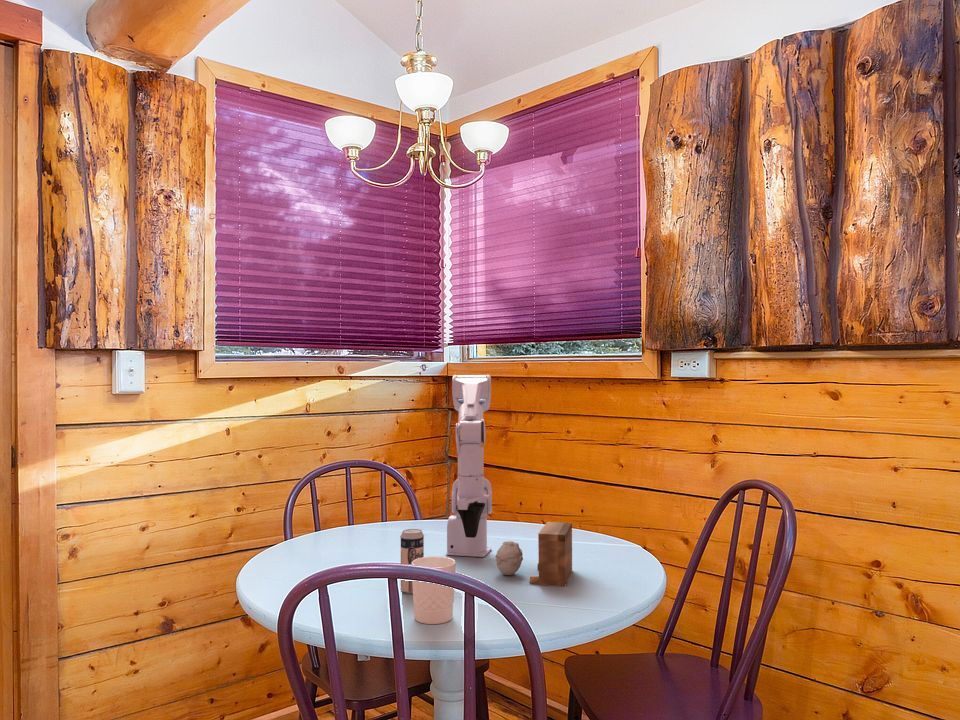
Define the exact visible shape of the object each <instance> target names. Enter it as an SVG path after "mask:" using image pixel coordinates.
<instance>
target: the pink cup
mask: <svg viewBox="0 0 960 720" xmlns="http://www.w3.org/2000/svg"><path fill="white" fill-rule="evenodd" d="M456 564H457V563H456V560H455V559H454V558H451V557H447V556H437V555H436V556H434V555H433V556H432V555H431V556H424V557H422V558H418V559H415V560H413V561H412V565H419V566H426V567H432V568H437V569H442V570H446V571H451V572H455V573H456ZM412 587H413V594H412V595H413V596H412V597H413V598H412V601H413V608H414V609H413V610H414V619H415V620H416V622H418V623H421V624H426V625H440V624H446V623H447V622H449V621H452V619H453V617H454V614H453V613H454V603H455V601H454V600H455V589H453V588H450V587H446V586H442V585H438V584H433V583H427V582H419V581H412Z"/></svg>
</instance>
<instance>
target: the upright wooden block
mask: <svg viewBox="0 0 960 720" xmlns="http://www.w3.org/2000/svg"><path fill="white" fill-rule="evenodd" d="M537 549H538V562H537V564H536V565H537V571H538V575H529V584H533V585H534V584H535V585H539V586H551V587H552V586H553V587H566V586H567V584H568V582H569V579H570V577H571V574H572V572H573V523H572V522H563V521H562V522H559V521H546V523H545V524H544V526H542V528H541V529H540V531H539V532H538V548H537Z"/></svg>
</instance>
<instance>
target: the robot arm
mask: <svg viewBox="0 0 960 720" xmlns="http://www.w3.org/2000/svg"><path fill="white" fill-rule="evenodd" d="M451 381H452V382H451V383H452V384H451V385H452V386H451V387H452V388H451V389H452V390H451V391H452V393H451V394H452V402H453V403H452V404H453V406H454V407H453V408H454V410H456V411H457V412H458V420H457V421H458V422H456V423H455V443H456V454H457V478H456V480H455V481H453V484H452V488H451V489H452V490H451V513H453V514H452V515H449V517H448V519H447V522H446V523H447V525H446V555H447V556H459V557H462V556H463V557H476V558H477V557H479V558H484V557H486V556H487V555H488V554H489V553H490V551H491V550H492V547H490V546H488V529H487V528H488V523H487V522H488V515H491V514H492V512H493V492H492V491H493V490H492V484H491V481H489V480H488V479H487V478H486V477H484V472H485V471H484V470H485V469H484V462H485V461H484V457H485V455H484V453H485V452H484V451H485V448H484V447H485V445H486V423H485V419H484V413H485V412H487V411H489V410H490V406H491V397H492V377H491V375H490V374H476V375H475V374H470V375H469V374H463V375H461V374H458V375H457V374H453V376H452V380H451ZM482 444H483V445H482Z"/></svg>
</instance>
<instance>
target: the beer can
mask: <svg viewBox="0 0 960 720" xmlns="http://www.w3.org/2000/svg"><path fill="white" fill-rule="evenodd" d="M424 538H425V535H424V533H423V530H422V529H418V528H410V529H409V528H408V529H403V530H402V532H401V534H400V565H401V564H412V561H413V560H415V559H418V558H422V557H425V556H424V555H425V554H424V553H425V552H424V551H425V550H424V548H425V547H424V546H425V545H424V544H425V543H424V542H425V541H424V540H425V539H424ZM399 589H400V591H401V592H403V593H405V594H409V595H410V594H411V595H413V587H412V581H405V580H401V579H400V588H399Z"/></svg>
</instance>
